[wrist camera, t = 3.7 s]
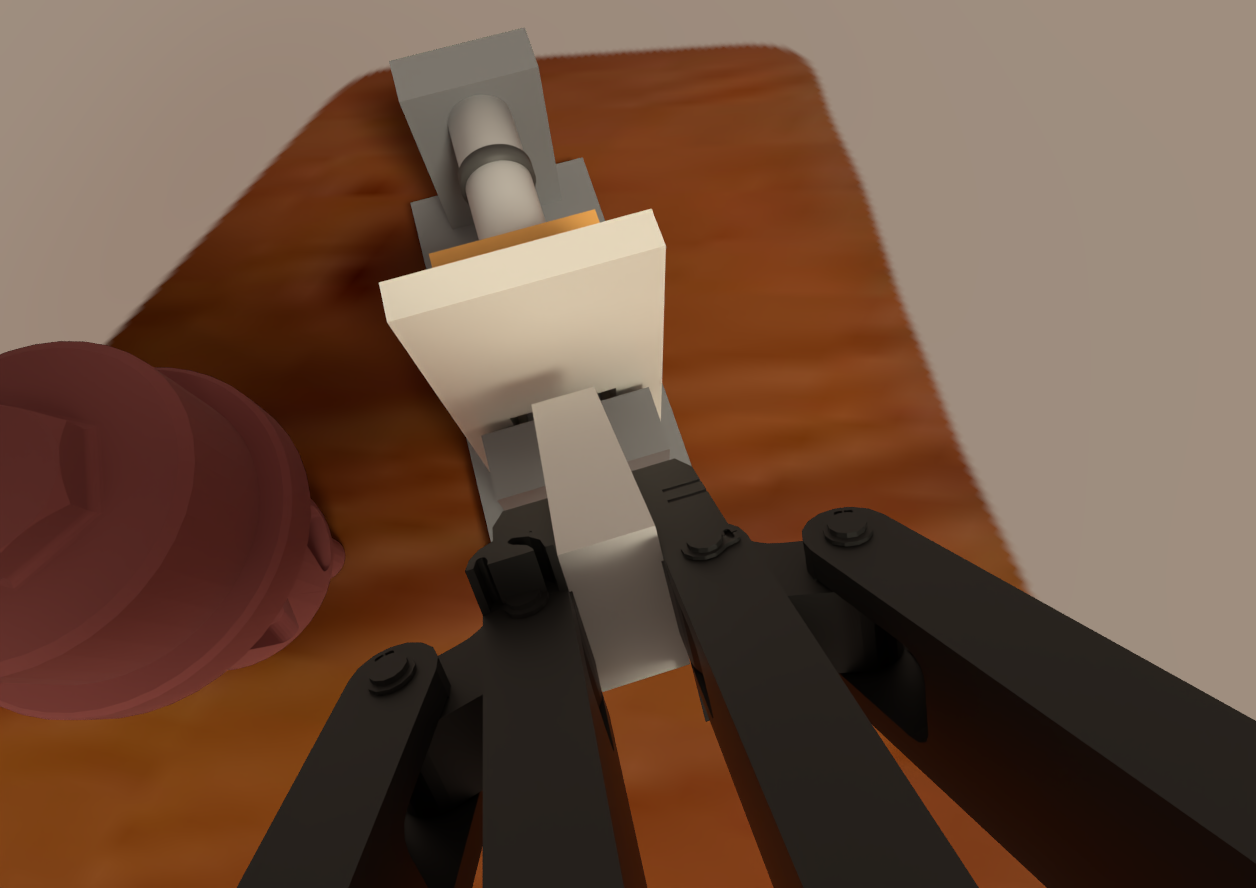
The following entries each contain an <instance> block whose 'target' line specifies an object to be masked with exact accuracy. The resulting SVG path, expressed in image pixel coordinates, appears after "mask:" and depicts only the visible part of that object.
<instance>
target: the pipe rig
mask: <svg viewBox="0 0 1256 888" xmlns="http://www.w3.org/2000/svg"><path fill="white" fill-rule="evenodd" d="M389 63H390V67H391V71H392V75H393V79H394V83H395V87H396V91H397V95H398V99H399V103H400V105H401V108H402V110H403V113H404V115H405V117H406V120H407V122H408V124H409V127H410V129H411V132H412V134H413V136H414V139H415V141H416V144H417V146H418V148H419V151H420V153H421V156H422V158H423V160H424V163H425V165H426V168H427V170H428V172H429V175H430V177H431V180H432V182H433V184H434V187H435V189H436V192H437V194H438V196H434V197H430V198H426V199H423V200H419V201H415V202H411V207H412V211H413V216H414V220H415V224H416V228H417V232H418V237H419V241H420V245H421V249H422V253H423V258H424V262H425V266H426V270H427V269H431V268H432V265H431V261H430V257H429V254H430V253H434V252H437V251H441V250H445V249H449V248H452V247H456V246H460V245H463V244H467V243H471V242H475V241H478V240H482V239H486V238H490V237H493V236H497V235H501V234H504V233H508V232H512V231H516V230H519V229H523V228H527V227H530V226H534V225H538V224H542V223H545V222H549V221H553V220H556V219H560V218H564V217H568V216H571V215H575V214H579V213H582V212H586V211H590V210H594V209H595V211H596V213H597V216H598V219H599V222H600V223H601V222H604V221H605V220H604V217H603V214H602V211H601V208H600V206H599V203H598V200H597V197H596V194H595V191H594V189H593V186H592V183H591V180H590V177H589V174H588V172H587V169H586V166H585V163H584V160H583V158H578V159H575V160H571V161H567V162H563V163H559V164H556V163H555V158H554V152H553V147H552V141H551V135H550V130H549V124H548V118H547V113H546V107H545V102H544V96H543V90H542V85H541V79H540V74H539V68H538V65H537V62H536V59H535V56H534V53H533V50H532V47H531V44H530V41H529V38H528V36H527V33H526V30H525V28H521V29H517V30H513V31H509V32H505V33H501V34H497V35H493V36H489V37H485V38H481V39H476V40H472V41H468V42H464V43H461V44H456V45H452V46H448V47H444V48H440V49H436V50H433V51H428V52H424V53H420V54H416V55H412V56H408V57H404V58H400V59H396V60H392V61H389ZM597 394H598V397H599V399H600V401H601V404H602V406H603V408H604V410H605V413H606V415H607V417H608V419H609V422H610V424H611V426H612V429H613V431H614V433H615V435H616V438H617V440H618V442H619V445H620V447H621V449H622V451H623V454H624V456H625V458H626V460H627V463H628V465H629V467H630V470H631V471H634V470H637V469H640V468H644V467H647V466H651V465H654V464H657V463H661V462H664V461H667V460H671V459H674V458H675V459H677V460H679V461H681V462H684V463H686V464H688V465H690V466H691V463H690V460H689V457H688V455H687V452H686V449H685V446H684V443H683V440H682V438H681V435H680V432H679V429H678V426H677V423H676V421H675V418H674V415H673V412H672V409H671V406H670V404H669V401H668V398H667V395H666V392H665V389H664V387H663V384H662V395H661V421H660V418H659V415H658V412H657V409H656V406H655V403H654V400H653V398H652V395H651V392H650V389H649V387H647V388H643V389H640V390H636V391H633V392H629V393H626V394H623V395H619V396H616V397H612V398H609V399H605V400H602V398H601V394H600V393H597ZM527 418H528V422H526V423H522V424H519V425H515V426H512V427H509V428H505V429H502V430H498V431H495V432H491V433H488V434H484V435H481V437H482V442H483V446H484V450H485V454H486V458H487V462H488V466H489V470H490V472H489V470H488V469H487V467H486V466H485V464H484V463H483V461H482V460H481V458H480V457H479V456H478V454H477V453H476V451H475V450H474V448H473V447H472V445H471V444H470V442H469V441H468V440H467V443H468V447H469V452H470V456H471V460H472V464H473V468H474V473H475V477H476V481H477V485H478V490H479V494H480V498H481V502H482V506H483V511H484V515H485V519H486V523H487V527H488V532H489V536H490V540H491V542H492V541H493V530H492V527H493V526H494V524H495V523H496V521H497V519H498V518H499V516H500V515H501V513H502V511H505V510H509V509H512V508H515V507H519V506H522V505H525V504H529V503H532V502H536V501H539V500H542V499H546V498H547V492H546V486H545V480H544V475H543V469H542V463H541V457H540V451H539V446H538V440H537V434H536V428H535V423H534V417H533V412H531V413H528V414H527ZM466 439H467V438H466Z"/></svg>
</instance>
